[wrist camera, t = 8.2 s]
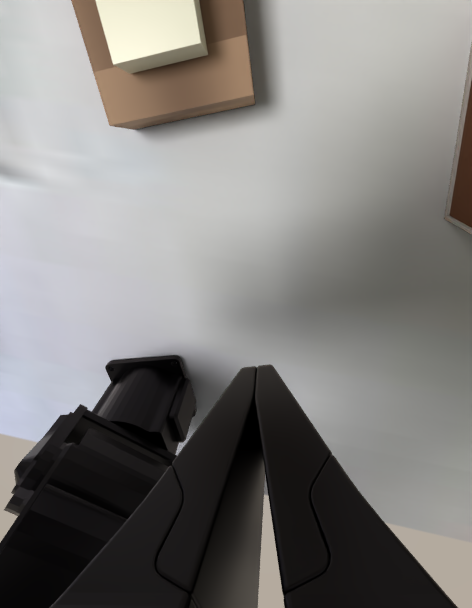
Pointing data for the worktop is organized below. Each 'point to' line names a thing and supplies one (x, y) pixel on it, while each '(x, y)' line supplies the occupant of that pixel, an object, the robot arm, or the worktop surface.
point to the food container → (462, 164)
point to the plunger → (152, 32)
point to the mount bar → (174, 71)
